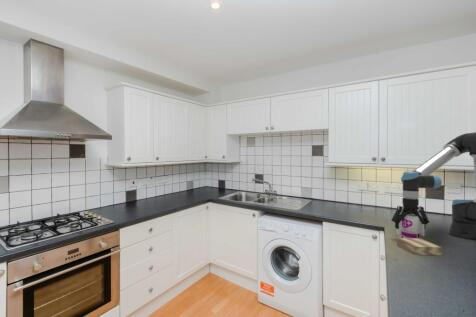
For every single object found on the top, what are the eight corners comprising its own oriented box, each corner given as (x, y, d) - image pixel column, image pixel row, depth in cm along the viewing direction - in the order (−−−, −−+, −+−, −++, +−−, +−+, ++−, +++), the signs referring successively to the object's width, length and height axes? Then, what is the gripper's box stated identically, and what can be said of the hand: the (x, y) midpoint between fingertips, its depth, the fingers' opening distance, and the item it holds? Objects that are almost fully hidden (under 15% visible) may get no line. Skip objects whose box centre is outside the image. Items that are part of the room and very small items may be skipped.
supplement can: (411, 244, 129) (412, 217, 129) (397, 239, 137) (398, 214, 137) (422, 243, 131) (422, 216, 131) (408, 238, 139) (408, 213, 139)
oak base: (421, 245, 126) (421, 238, 126) (441, 255, 113) (441, 247, 113) (397, 245, 126) (397, 237, 126) (415, 254, 113) (415, 246, 113)
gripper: (426, 197, 138) (426, 233, 137) (384, 196, 138) (384, 232, 138) (437, 199, 130) (437, 237, 130) (393, 198, 130) (392, 236, 130)
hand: (410, 234), depth 134 cm, fingers open, 13 cm apart
